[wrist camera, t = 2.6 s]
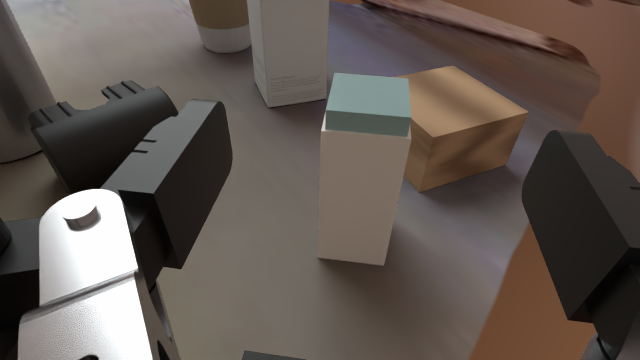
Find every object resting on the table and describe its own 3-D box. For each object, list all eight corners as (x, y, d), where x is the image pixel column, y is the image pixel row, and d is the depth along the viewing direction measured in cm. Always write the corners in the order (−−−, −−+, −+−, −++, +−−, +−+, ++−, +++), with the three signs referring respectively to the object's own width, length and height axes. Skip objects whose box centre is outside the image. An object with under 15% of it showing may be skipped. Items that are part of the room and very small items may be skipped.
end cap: (84, 216, 30) (45, 148, 26) (52, 175, 34) (14, 109, 30) (194, 162, 36) (177, 97, 31) (156, 131, 39) (137, 70, 35)
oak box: (418, 194, 33) (433, 137, 29) (363, 134, 40) (369, 82, 36) (504, 166, 36) (528, 112, 32) (440, 115, 43) (453, 65, 39)
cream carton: (384, 265, 27) (415, 119, 19) (317, 257, 28) (321, 111, 20) (384, 217, 31) (411, 77, 23) (326, 210, 31) (331, 71, 23)
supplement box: (328, 99, 45) (332, -17, 37) (266, 109, 43) (256, -12, 35) (309, 73, 50) (309, -34, 42) (253, 80, 48) (242, -30, 40)
